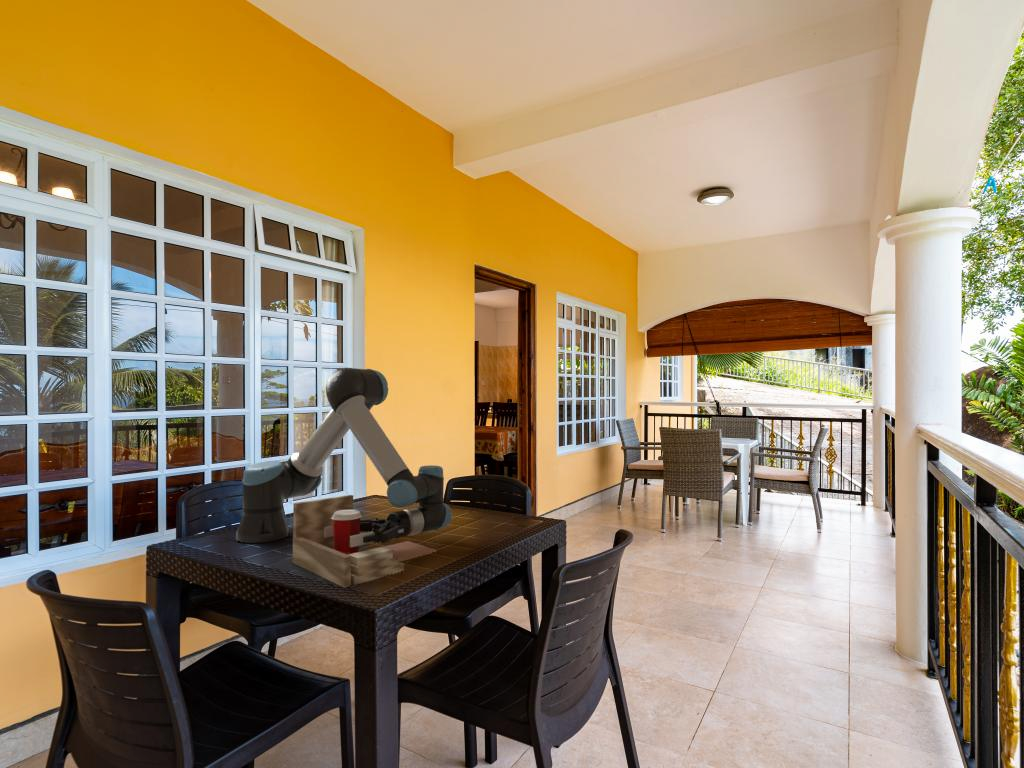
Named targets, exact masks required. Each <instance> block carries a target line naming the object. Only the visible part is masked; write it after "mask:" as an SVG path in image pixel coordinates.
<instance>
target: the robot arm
mask: <svg viewBox="0 0 1024 768" xmlns="http://www.w3.org/2000/svg"><path fill="white" fill-rule="evenodd" d="M388 385H389V384H388V381H387V378H386V376H385V375H384V374H383V373H382V372H380V371H378V370H376V369H375V370H374V369H371V368H365V369H364V368H354V367H341V368H339V369H337V370H335V371H334V372H333V373H332V374H330V376H329V377H328V379H327V382H326V386H325V394H326V398H327V401H328V403H329V405H330V407H331V409H330V410H329V412H328V413H327V415H326V416H325V417H324V418H323V420H322V421H321V423H319V425H318V426H317V428H316V430H314V432H313V433H312V435H311V436H310V437H309V439H308V440H307V441H306V443H305V445H304V446H303V447H302V448H301V450H300V451H295V452H293V453H292V454H291V455H290V456H289V458H288V460H286V462H285V463H283V462H282V461H280V460H279V461H278V460H271V461H270V460H269V461H261V462H257V463H256V462H255V463H253V464H250V465H248V466H247V467H246V468H245V469H244V470H243V477H242V480H241V481H242V516H241V518H240V520H239V524H238V527H237V530H236V533H235V540H236V541H237V542H238V541H240V542H239V543H243V542H245V544H257V543H258V544H259V543H267V542H268V543H270V542H275V541H278V540H281V539H282V540H283V539H284V538H286V537H288V536H289V526H288V524H287V520H286V517H285V514H284V509H283V505H284V503H283V501H284V500H287V499H293V498H296V497H304V496H307V495H309V494H311V493H313V492H315V491H316V490H317V489H318V488H319V487H320V485H321V483H322V480H323V478H322V476H323V471H324V469H323V465H324V463H325V462H326V460H327V459H328V458H329V457H330V455H331V454H332V453H333V451H335V449H336V447H338V445H339V444H340V443H341V441H342V439H343V438H344V437H345V435H347V433H348V432H349V430H350V432H352V435H353V436H354V437H355V439H356V440H357V442H358V443H359V445H360V446H361V447H362V449H363V451H364V453H365V454H366V455H367V456H368V458H369V460H370V461H371V463H372V464H373V466H374V467H375V469H376V471H377V472H378V473H379V475H380V477H381V478H382V479H383V481H384V482H385V484H386V486H387V489H386V495H387V500H388V502H389V503H390V505H392V506H393V507H395V508H405V507H410V506H412V505H414V504H417V503H418V506H417V507H413V508H405V509H403V510H402V509H401V510H396V511H392V512H390V513H389V514H388V516H387V518H386V519H385V518H380V519H379V517H375V518H370V519H360V532H365V533H363V534H358V535H353V536H350V547H355V546H364V545H368V544H372V543H374V542H375V543H379V542H380V544H386V543H388V542H389V541H392V540H393V539H397V540H398V539H402V538H405V537H409V536H411V537H414V536H415V535H417V534H422V533H427V532H431V531H432V532H433V531H438V530H441V529H443V528H447V527H448V526H449V524H450V523H451V521H452V517H453V516H452V515H453V514H452V511H451V508H450V506H449V505H448V504H446V503H444V488H445V487H444V481H445V478H444V468H443V467H442V466H440V465H434V464H433V465H431V464H430V465H422V466H420V467H419V468H418V474H417V475H414V474H413V473H412V471H411V470H410V469H409V467H408V466H407V464H406V463H405V461H404V460H403V458H402V457H401V455H400V454H399V453H398V451H397V449H396V448H395V445H393V443H392V442H391V440H390V439H389V437H388V435H386V433H385V431H384V430H383V429H382V427H381V426H380V424H379V423H378V421H377V420H376V418H375V417H374V416H373V414H372V413H371V410H372V408H373V407H374V406H379V405H380V404H383V402H385V401H386V400H387V397H388V394H389V386H388ZM331 536H334V530H333V526H328V527H324V537H325V538H326V537H331Z"/></svg>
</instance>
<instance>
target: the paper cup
mask: <svg viewBox="0 0 1024 768" xmlns="http://www.w3.org/2000/svg"><path fill="white" fill-rule="evenodd" d="M362 517H363V515H362V514H361V511H360V510H358V509H353V510H340V511H336V512H334V514H333V516H332V518H331V519H333V530H334V549H335V550H336V551H339V552H341V553H344V554H346V555H348V554H353V553H357V552H359V548H360V547H359V546H355V547H350V536H353V535H358V534H360V520H361V518H362Z"/></svg>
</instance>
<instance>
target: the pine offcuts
mask: <svg viewBox="0 0 1024 768" xmlns="http://www.w3.org/2000/svg"><path fill="white" fill-rule="evenodd" d="M348 555H349V556H351V585H353V586H357V585H359V584H364V583H366V582H370V581H374V580H378V579H381V578H384V576H385V577H388V576H387V575H389V576H392V575H396V574H399V573H402V572H401V571H403V572H405V568H404V567H405V566H404V565H405V563H403V562H402V561H401V562H398V556H395V555H393V550H392V549H389V548H386V547H384V546H379V547H374V548H371V549H366V550H363V551H361V550H360V551H358V552H357V553H353V554H348ZM398 572H399V573H398ZM395 573H396V574H395ZM391 574H392V575H391ZM363 582H364V583H363Z"/></svg>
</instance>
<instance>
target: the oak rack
mask: <svg viewBox="0 0 1024 768" xmlns="http://www.w3.org/2000/svg"><path fill="white" fill-rule="evenodd" d="M292 504H293V507H292V508H293V514H292V515H293V517H292V519H293V522H292V523H293V526H292V527H293V529H292V530H293V533H292V564H295V566H296V565H297V566H299V567H301V568H302V569H305V570H307V571H309V572H310V573H313V574H315V575H317V576H319V577H322V578H323V579H326V580H328V581H329V582H331V583H334V584H335V585H338V586H339V587H342V588H344V589H345V588H348V587H349V588H350V587H351V585H352V584H351V556H349V555H346V554H344V553H341V552H339V551H336V550H335V549H334V536H331V537H326V538H325V537H324V527H328V526H333V519H331V518H332V516H333V514H334V512H336V511H340V510H354V494H353V495H352V494H346V495H340V496H333V497H326V498H321V499H320V498H319V499H314V500H313V499H312V500H306V501H299V502H293V503H292Z"/></svg>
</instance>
